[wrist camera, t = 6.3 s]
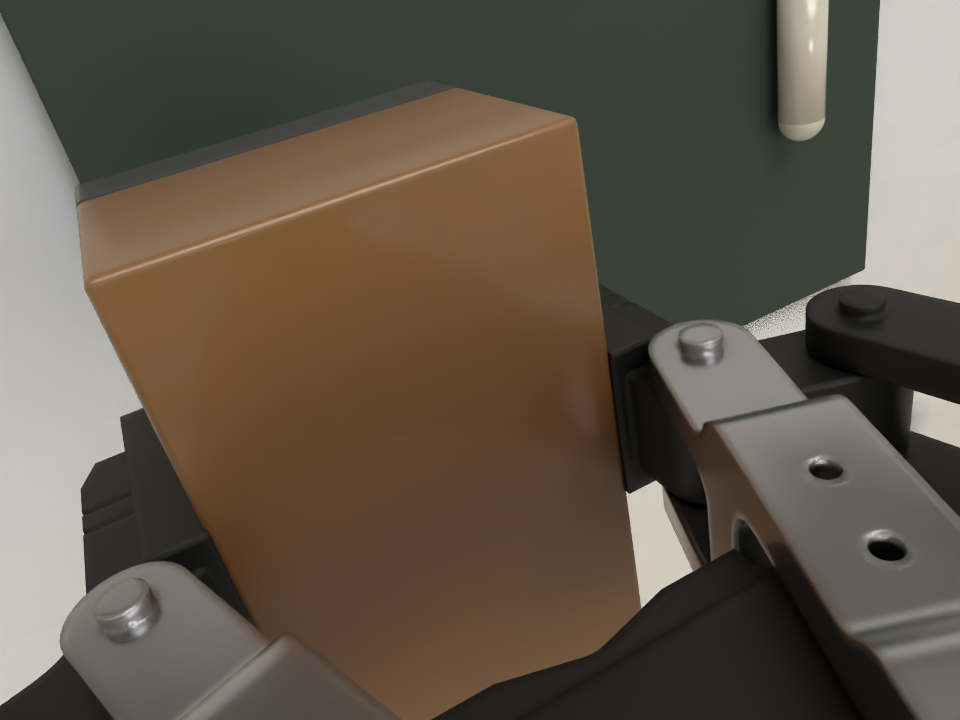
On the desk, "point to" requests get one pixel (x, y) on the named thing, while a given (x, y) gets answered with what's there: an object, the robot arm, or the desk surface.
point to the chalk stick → (801, 67)
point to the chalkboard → (522, 79)
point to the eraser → (383, 382)
